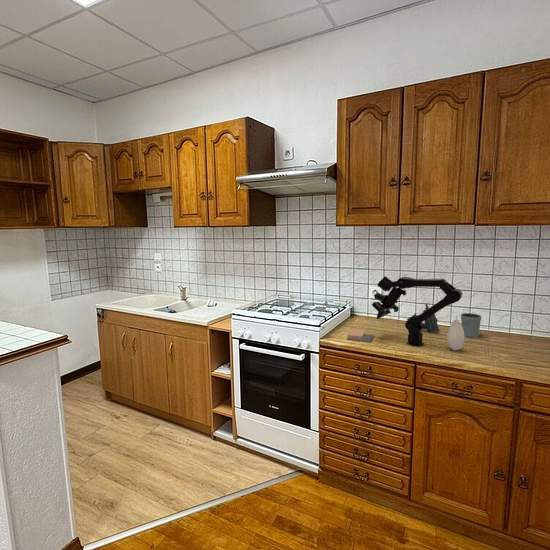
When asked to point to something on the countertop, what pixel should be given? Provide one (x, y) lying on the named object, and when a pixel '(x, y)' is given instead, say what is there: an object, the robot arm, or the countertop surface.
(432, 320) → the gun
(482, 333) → the countertop surface
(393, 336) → the countertop surface
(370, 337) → the mat
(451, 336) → the sauce bottle
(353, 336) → the tile
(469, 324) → the grey plant pot
